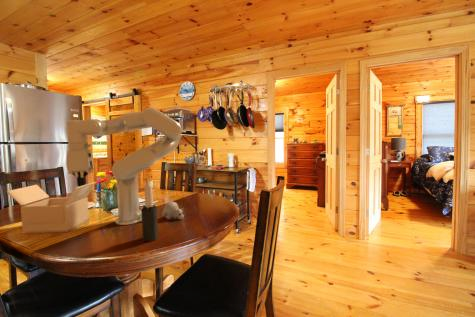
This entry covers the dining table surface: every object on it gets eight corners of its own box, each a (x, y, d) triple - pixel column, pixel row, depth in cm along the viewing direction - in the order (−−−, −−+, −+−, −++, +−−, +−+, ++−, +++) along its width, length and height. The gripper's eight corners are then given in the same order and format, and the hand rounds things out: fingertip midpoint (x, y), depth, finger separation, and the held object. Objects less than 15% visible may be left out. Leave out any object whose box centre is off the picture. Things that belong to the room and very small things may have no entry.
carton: (89, 219, 119) (88, 196, 118) (66, 232, 101) (64, 206, 101) (51, 221, 118) (49, 197, 117) (21, 234, 101) (19, 207, 100)
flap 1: (36, 184, 115) (36, 185, 115) (7, 191, 100) (6, 191, 100) (49, 196, 116) (48, 197, 116) (22, 205, 101) (21, 205, 101)
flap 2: (74, 187, 101) (76, 188, 101) (95, 181, 117) (96, 182, 117) (64, 203, 101) (65, 204, 101) (86, 195, 117) (87, 196, 117)
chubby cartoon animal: (176, 227, 114) (180, 212, 112) (158, 215, 118) (162, 200, 116) (185, 222, 120) (189, 208, 118) (168, 211, 124) (172, 197, 122)
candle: (158, 235, 96) (156, 176, 95) (155, 241, 91) (152, 178, 90) (146, 236, 96) (143, 176, 94) (142, 241, 91) (138, 178, 89)
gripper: (99, 146, 112) (102, 183, 113) (67, 147, 111) (71, 185, 112) (90, 146, 104) (93, 186, 105) (56, 147, 103) (59, 188, 105)
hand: (81, 185), depth 109 cm, fingers closed
